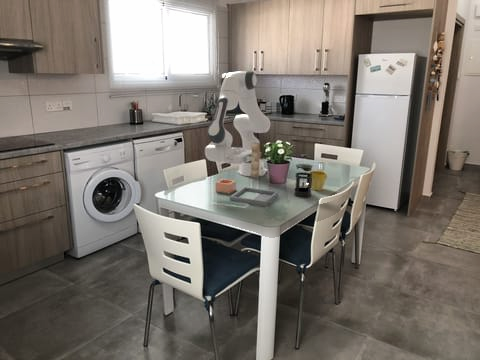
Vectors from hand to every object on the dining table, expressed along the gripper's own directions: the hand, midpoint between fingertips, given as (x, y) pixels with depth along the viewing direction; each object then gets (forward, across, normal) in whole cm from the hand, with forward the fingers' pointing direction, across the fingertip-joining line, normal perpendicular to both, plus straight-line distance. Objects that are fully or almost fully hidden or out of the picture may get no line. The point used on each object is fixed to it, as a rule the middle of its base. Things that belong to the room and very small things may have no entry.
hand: (257, 158), depth 207 cm
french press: (+21, +18, +22) cm, 36 cm away
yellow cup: (+25, +34, +22) cm, 48 cm away
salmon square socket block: (-20, +4, +22) cm, 30 cm away
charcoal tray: (-1, 0, +22) cm, 22 cm away
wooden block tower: (-1, 0, +10) cm, 10 cm away
